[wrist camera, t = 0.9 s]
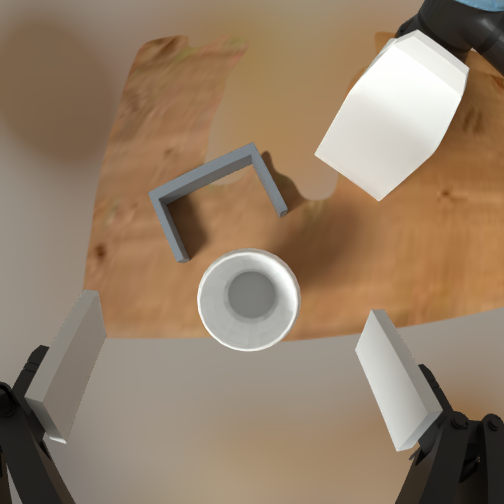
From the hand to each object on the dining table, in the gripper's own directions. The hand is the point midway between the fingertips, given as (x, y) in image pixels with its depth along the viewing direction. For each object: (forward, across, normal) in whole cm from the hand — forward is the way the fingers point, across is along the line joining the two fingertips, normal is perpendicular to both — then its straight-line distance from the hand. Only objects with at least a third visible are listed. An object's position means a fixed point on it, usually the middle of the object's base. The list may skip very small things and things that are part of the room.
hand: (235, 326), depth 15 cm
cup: (+26, +4, -15) cm, 31 cm away
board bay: (+33, -2, -5) cm, 33 cm away
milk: (+36, +20, +5) cm, 41 cm away
